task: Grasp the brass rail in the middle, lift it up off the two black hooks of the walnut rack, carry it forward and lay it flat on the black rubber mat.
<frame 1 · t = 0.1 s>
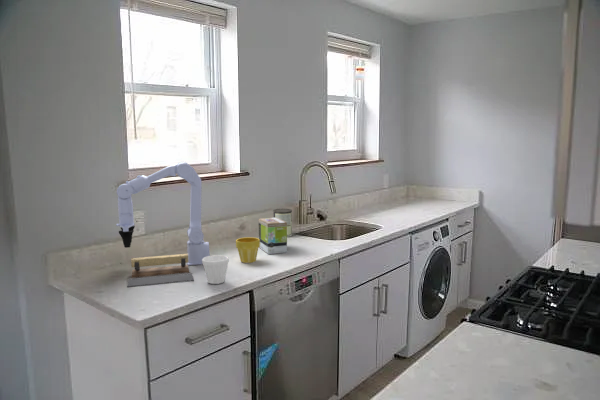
hand: (128, 245, 193), 10 cm above the worktop, tool pointing down, fingers open, 7 cm apart
cup: (216, 282, 175), on the worktop
hook rack: (160, 272, 188), on the worktop
tea box: (272, 250, 223), on the worktop
plant pot: (248, 261, 204), on the worktop
brass rail: (160, 264, 188), point 3 cm above the worktop, touching hook rack
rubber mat: (161, 280, 178), on the worktop
coffee can: (282, 235, 255), on the worktop
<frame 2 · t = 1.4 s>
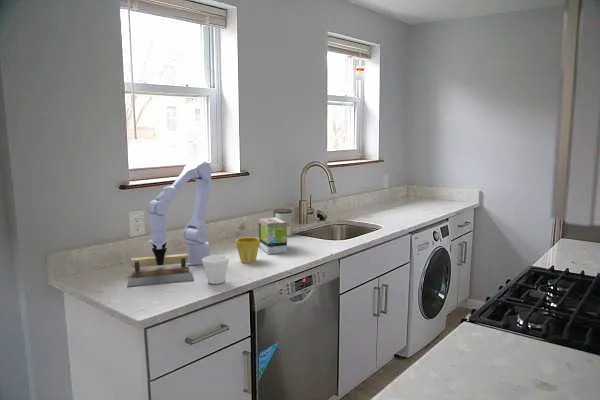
hand: (160, 262, 188), 4 cm above the worktop, tool pointing down, fingers open, 7 cm apart
nothing on the worktop moved.
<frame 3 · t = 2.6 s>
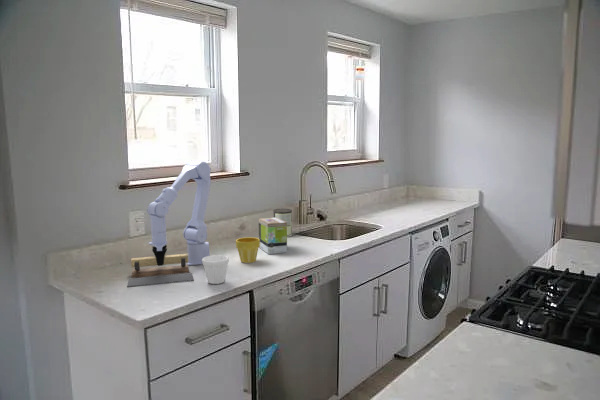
hand: (160, 264, 188), 3 cm above the worktop, tool pointing down, fingers closed on brass rail, 3 cm apart
brass rail: (160, 264, 188), point 3 cm above the worktop, touching gripper, hook rack
everything else where it was.
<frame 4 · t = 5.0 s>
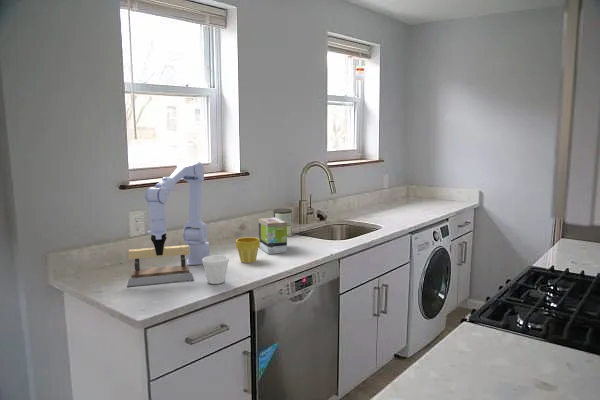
hand: (159, 254, 177), 10 cm above the worktop, tool pointing down, fingers closed on brass rail, 3 cm apart
brass rail: (159, 255, 177), point 10 cm above the worktop, touching gripper
everything else where it was.
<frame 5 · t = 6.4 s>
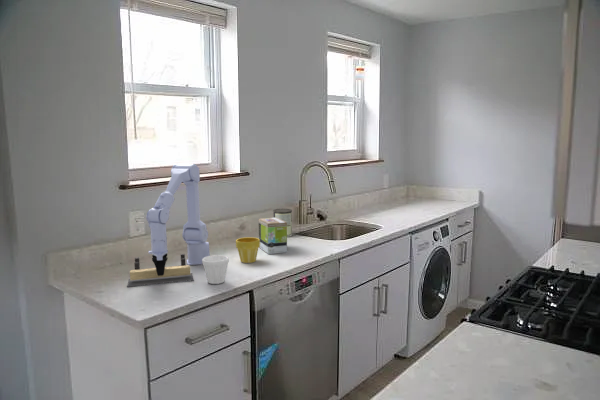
hand: (160, 273, 178), 3 cm above the worktop, tool pointing down, fingers closed on brass rail, 3 cm apart
brass rail: (160, 276, 178), point 2 cm above the worktop, touching gripper
everything else where it was.
when the fingers open (2 cm above the worktop, at t = 7.3 s): brass rail stays where it is, resting on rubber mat.
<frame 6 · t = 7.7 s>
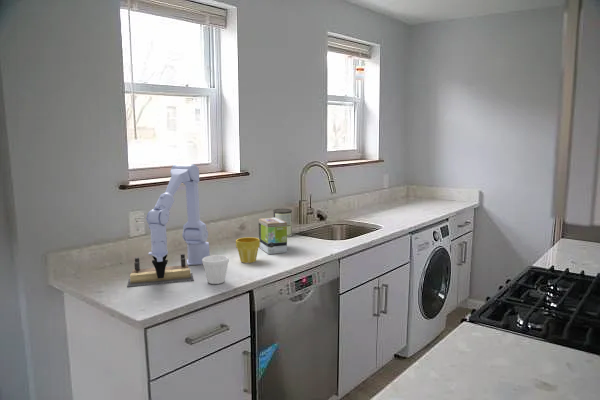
hand: (160, 275, 178), 2 cm above the worktop, tool pointing down, fingers open, 7 cm apart
brass rail: (161, 279, 178), resting on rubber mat
everything else where it was.
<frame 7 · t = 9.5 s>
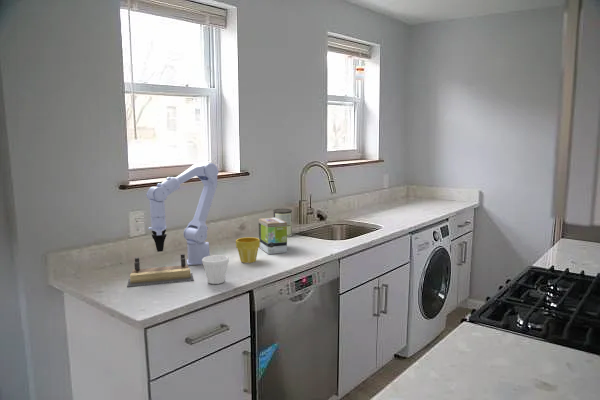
hand: (159, 249, 189), 9 cm above the worktop, tool pointing down, fingers open, 7 cm apart
nothing on the worktop moved.
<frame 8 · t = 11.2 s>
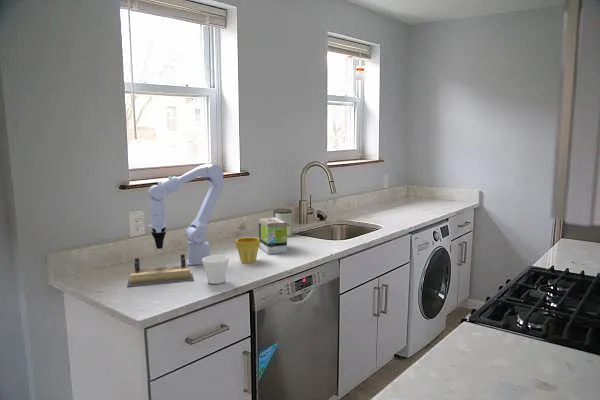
hand: (159, 246, 193), 9 cm above the worktop, tool pointing down, fingers open, 7 cm apart
nothing on the worktop moved.
at the end: brass rail 0.0 cm off-centre on the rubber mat, point 0.4 cm above the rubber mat's base; brass rail tilted 0°; the gripper is holding nothing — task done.
